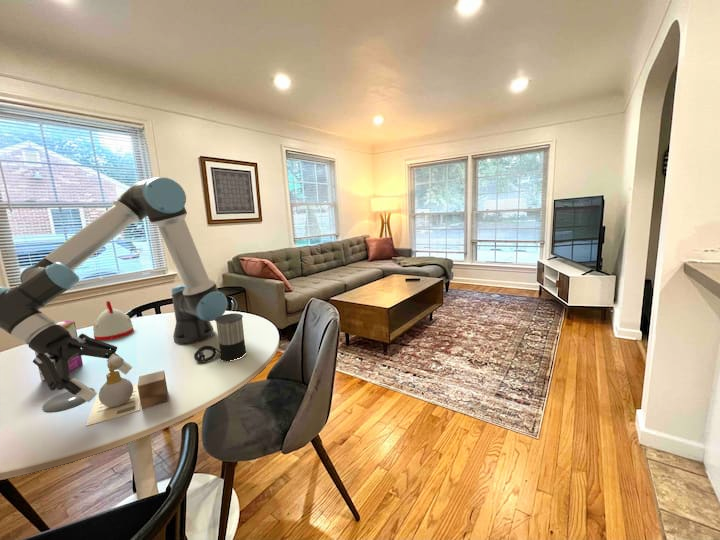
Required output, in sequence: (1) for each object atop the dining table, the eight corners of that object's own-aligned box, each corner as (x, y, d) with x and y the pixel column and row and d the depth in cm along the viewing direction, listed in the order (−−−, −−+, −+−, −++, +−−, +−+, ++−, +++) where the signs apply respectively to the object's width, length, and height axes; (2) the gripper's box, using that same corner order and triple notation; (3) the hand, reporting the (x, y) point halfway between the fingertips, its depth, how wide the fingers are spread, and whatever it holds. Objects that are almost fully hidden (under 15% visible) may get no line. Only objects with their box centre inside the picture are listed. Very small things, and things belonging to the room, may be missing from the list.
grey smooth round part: (98, 384, 96) (97, 383, 96) (90, 402, 87) (90, 401, 87) (49, 396, 91) (49, 395, 91) (36, 417, 82) (36, 415, 82)
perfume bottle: (105, 415, 81) (96, 373, 79) (96, 402, 87) (87, 362, 85) (138, 401, 87) (131, 361, 84) (128, 390, 93) (121, 352, 90)
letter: (143, 383, 96) (143, 383, 96) (139, 410, 83) (139, 409, 83) (97, 395, 91) (97, 394, 91) (85, 426, 77) (85, 425, 77)
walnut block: (167, 392, 91) (164, 370, 90) (168, 402, 86) (164, 379, 85) (143, 399, 88) (139, 376, 87) (141, 410, 83) (137, 386, 82)
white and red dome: (130, 326, 149) (124, 295, 146) (136, 333, 139) (131, 301, 136) (92, 335, 139) (85, 302, 136) (96, 343, 129) (89, 308, 127)
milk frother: (251, 355, 113) (247, 316, 110) (206, 372, 102) (201, 329, 99) (234, 345, 123) (229, 309, 120) (191, 359, 112) (185, 320, 109)
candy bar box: (57, 380, 100) (46, 332, 97) (40, 381, 100) (28, 333, 97) (84, 363, 111) (75, 320, 108) (69, 365, 111) (59, 321, 108)
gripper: (74, 327, 94) (133, 370, 98) (-20, 367, 70) (64, 422, 73) (89, 309, 94) (148, 353, 97) (-1, 344, 69) (83, 401, 73)
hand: (112, 383), depth 85 cm, fingers open, 13 cm apart
